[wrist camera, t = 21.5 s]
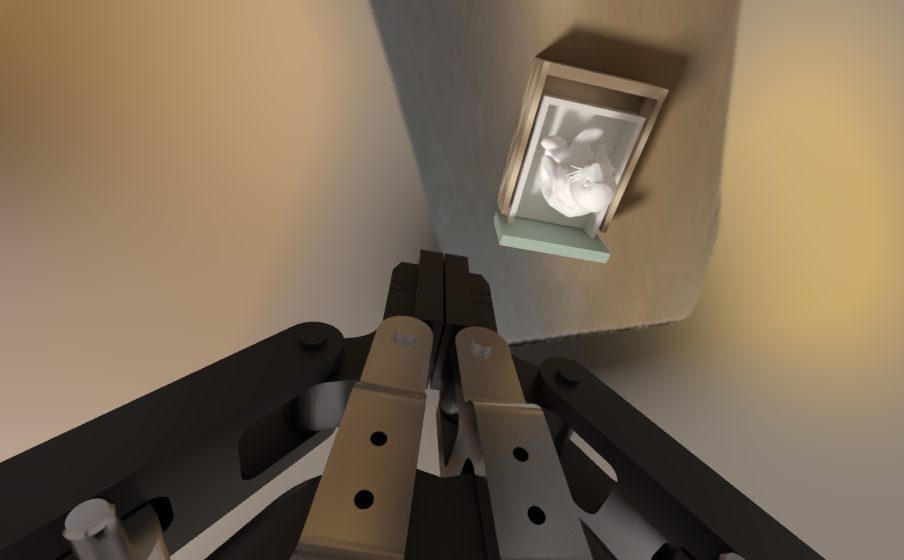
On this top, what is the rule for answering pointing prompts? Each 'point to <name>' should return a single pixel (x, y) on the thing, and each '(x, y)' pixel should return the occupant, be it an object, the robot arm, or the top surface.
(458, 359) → the robot arm
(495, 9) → the top surface
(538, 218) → the drawer
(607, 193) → the white rounded figure
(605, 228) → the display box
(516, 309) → the top surface
